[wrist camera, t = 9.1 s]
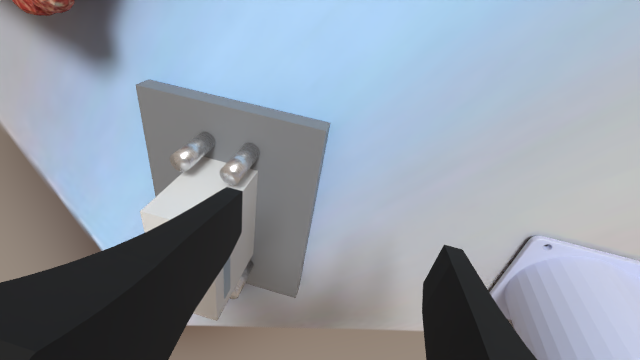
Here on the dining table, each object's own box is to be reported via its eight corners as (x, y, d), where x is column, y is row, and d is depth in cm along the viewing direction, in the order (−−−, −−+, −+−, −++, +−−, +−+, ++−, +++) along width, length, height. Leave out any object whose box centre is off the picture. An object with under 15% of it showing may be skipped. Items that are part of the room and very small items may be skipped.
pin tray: (330, 122, 19) (314, 155, 16) (299, 286, 28) (284, 329, 25) (148, 79, 20) (96, 101, 17) (174, 250, 29) (144, 287, 26)
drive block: (258, 171, 21) (214, 232, 16) (253, 253, 25) (217, 321, 20) (200, 155, 21) (139, 211, 16) (206, 239, 26) (159, 302, 21)
